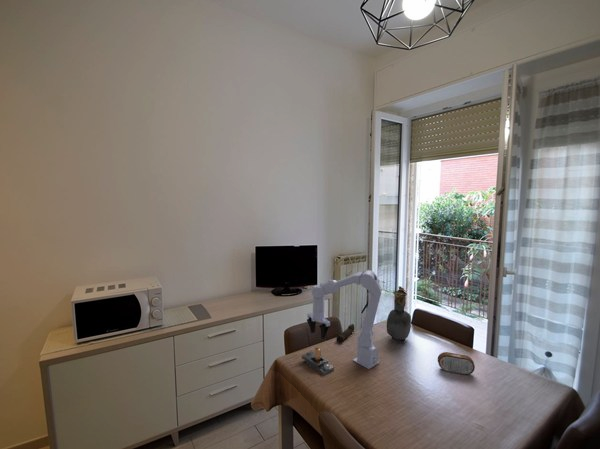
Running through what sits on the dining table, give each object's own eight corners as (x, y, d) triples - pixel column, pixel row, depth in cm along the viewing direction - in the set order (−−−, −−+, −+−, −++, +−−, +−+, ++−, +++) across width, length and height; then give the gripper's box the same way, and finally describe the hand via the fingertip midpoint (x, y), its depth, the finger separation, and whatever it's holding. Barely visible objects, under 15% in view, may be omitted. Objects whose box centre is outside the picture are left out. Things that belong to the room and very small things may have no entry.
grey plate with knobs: (333, 370, 137) (334, 363, 137) (323, 375, 133) (323, 369, 132) (311, 356, 148) (311, 350, 148) (301, 361, 144) (301, 355, 144)
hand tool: (342, 344, 162) (342, 335, 161) (336, 341, 164) (336, 333, 164) (358, 331, 177) (358, 324, 176) (352, 330, 179) (352, 322, 179)
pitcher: (384, 342, 163) (386, 289, 160) (394, 330, 179) (396, 281, 176) (404, 348, 157) (407, 293, 154) (413, 334, 173) (415, 284, 170)
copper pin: (321, 365, 140) (322, 349, 140) (317, 368, 138) (317, 351, 138) (317, 363, 143) (317, 346, 142) (312, 365, 141) (313, 349, 140)
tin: (473, 373, 135) (474, 355, 135) (474, 377, 132) (476, 359, 132) (437, 367, 140) (437, 350, 140) (437, 370, 137) (438, 353, 137)
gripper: (303, 306, 152) (302, 332, 154) (323, 315, 142) (322, 343, 143) (313, 303, 157) (312, 328, 158) (333, 312, 146) (332, 338, 147)
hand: (318, 335), depth 151 cm, fingers open, 7 cm apart
